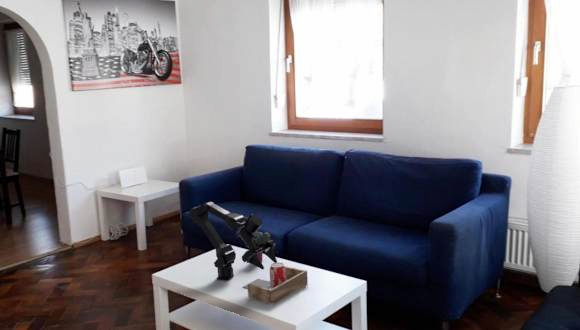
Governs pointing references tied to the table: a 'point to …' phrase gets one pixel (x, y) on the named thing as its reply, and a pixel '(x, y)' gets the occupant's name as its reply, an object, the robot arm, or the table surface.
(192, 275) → the table surface
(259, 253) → the cup
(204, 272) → the table surface
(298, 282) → the crate
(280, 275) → the soda can
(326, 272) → the table surface
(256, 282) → the mat
